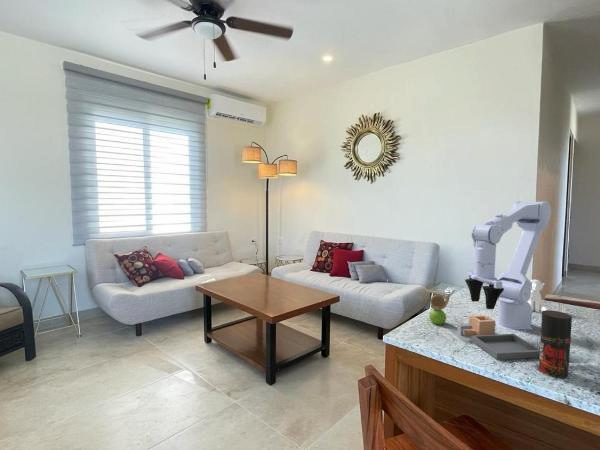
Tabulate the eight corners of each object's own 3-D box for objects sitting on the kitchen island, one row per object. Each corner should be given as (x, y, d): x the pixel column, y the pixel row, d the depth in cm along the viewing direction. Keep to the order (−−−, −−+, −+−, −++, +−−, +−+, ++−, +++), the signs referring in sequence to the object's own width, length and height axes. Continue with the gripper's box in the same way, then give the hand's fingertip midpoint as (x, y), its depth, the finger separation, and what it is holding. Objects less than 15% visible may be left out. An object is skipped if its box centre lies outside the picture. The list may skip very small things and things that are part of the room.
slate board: (487, 329, 112) (487, 327, 112) (506, 340, 103) (506, 338, 103) (447, 330, 111) (447, 329, 111) (462, 342, 102) (462, 340, 102)
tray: (513, 341, 103) (513, 333, 103) (543, 359, 91) (544, 351, 91) (470, 343, 102) (471, 335, 101) (496, 361, 90) (496, 353, 90)
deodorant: (533, 366, 88) (536, 310, 86) (554, 365, 88) (557, 309, 87) (551, 378, 82) (555, 319, 80) (574, 377, 82) (578, 318, 81)
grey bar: (482, 332, 108) (482, 321, 108) (486, 334, 106) (486, 323, 106) (457, 333, 108) (457, 322, 107) (460, 335, 106) (460, 324, 105)
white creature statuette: (519, 311, 130) (521, 280, 129) (517, 304, 137) (519, 276, 136) (549, 315, 125) (551, 283, 124) (546, 308, 133) (547, 278, 132)
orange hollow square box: (484, 329, 110) (484, 315, 110) (494, 336, 105) (495, 321, 104) (459, 330, 109) (459, 316, 109) (468, 337, 104) (469, 322, 104)
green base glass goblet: (450, 328, 113) (451, 293, 112) (430, 326, 114) (431, 292, 113) (447, 322, 118) (448, 289, 117) (427, 321, 120) (428, 288, 119)
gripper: (459, 258, 112) (457, 298, 113) (487, 267, 98) (484, 312, 99) (479, 258, 113) (477, 298, 114) (510, 267, 99) (507, 312, 100)
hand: (482, 304), depth 106 cm, fingers open, 7 cm apart
